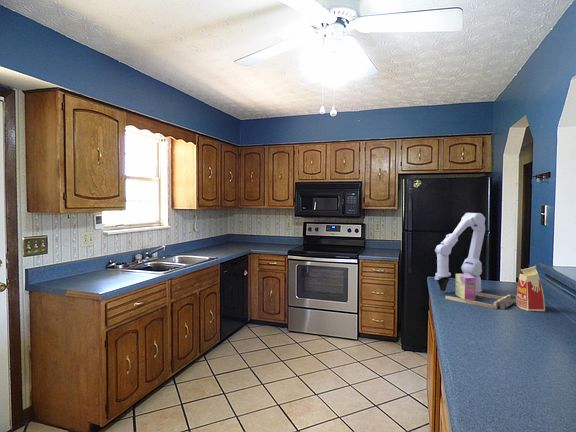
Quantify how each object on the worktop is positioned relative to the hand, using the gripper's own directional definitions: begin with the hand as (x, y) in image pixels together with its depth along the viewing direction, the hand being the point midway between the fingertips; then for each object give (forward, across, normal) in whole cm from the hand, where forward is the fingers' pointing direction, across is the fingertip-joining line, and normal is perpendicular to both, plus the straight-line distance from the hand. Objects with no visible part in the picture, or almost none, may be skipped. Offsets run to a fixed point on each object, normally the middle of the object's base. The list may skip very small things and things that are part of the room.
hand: (442, 290), depth 193 cm
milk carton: (+2, -3, +40) cm, 40 cm away
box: (+2, 0, +12) cm, 12 cm away
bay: (+1, 0, +20) cm, 20 cm away
